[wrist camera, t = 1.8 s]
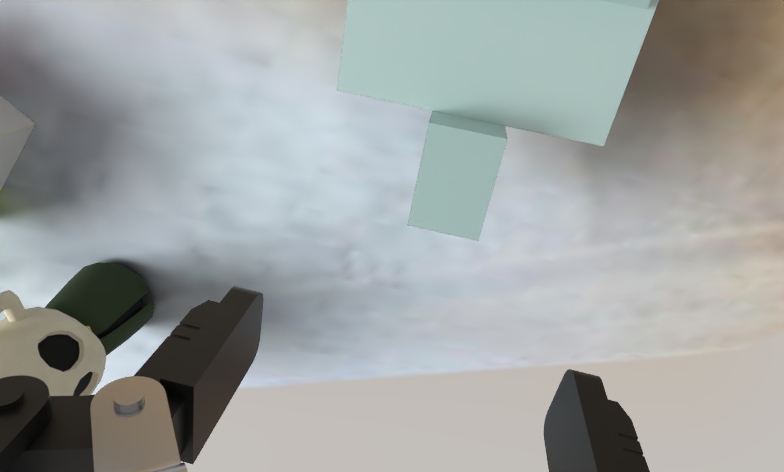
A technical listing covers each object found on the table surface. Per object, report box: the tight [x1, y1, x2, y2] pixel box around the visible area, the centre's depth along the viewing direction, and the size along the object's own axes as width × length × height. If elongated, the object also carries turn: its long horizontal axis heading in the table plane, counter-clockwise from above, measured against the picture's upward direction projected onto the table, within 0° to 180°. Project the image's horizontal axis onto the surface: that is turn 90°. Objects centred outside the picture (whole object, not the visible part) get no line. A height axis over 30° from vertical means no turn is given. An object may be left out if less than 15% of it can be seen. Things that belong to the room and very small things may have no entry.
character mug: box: [0, 263, 154, 396], centre depth 35 cm, size 11×7×13 cm, turn 7°
